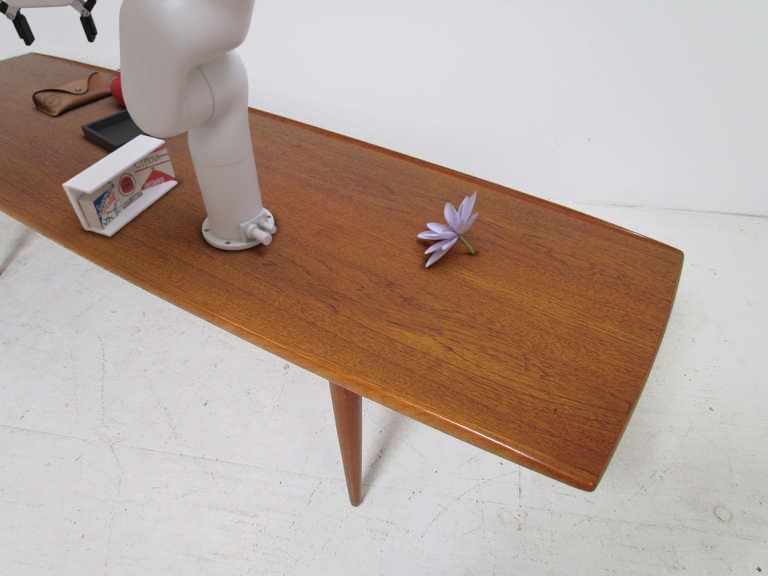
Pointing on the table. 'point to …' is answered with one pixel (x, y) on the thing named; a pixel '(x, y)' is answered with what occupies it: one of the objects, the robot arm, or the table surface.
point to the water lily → (450, 228)
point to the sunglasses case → (71, 94)
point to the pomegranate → (117, 89)
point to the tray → (113, 130)
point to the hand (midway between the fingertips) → (62, 41)
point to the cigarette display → (121, 185)
